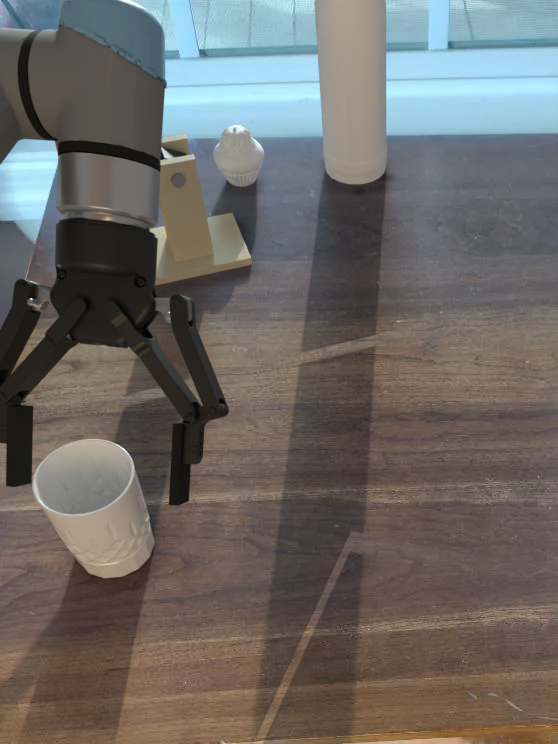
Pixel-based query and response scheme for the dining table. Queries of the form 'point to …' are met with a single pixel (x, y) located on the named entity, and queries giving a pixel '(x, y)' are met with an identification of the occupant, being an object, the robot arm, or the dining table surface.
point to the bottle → (352, 87)
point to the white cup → (96, 506)
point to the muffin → (238, 156)
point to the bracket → (192, 224)
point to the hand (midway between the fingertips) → (98, 494)
